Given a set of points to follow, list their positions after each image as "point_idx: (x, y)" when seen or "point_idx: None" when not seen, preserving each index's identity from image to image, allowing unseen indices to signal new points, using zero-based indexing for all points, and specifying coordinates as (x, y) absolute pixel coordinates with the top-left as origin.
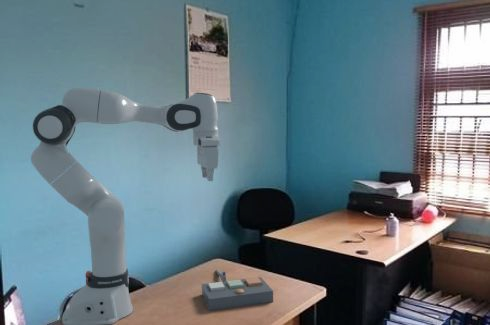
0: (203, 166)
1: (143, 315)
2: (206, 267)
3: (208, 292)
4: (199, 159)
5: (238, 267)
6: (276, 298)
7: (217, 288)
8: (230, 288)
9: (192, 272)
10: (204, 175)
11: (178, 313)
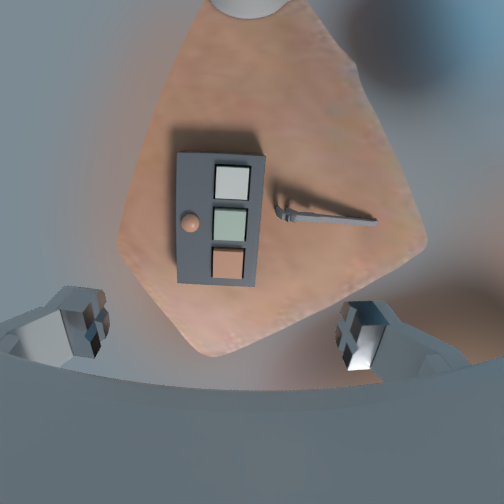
0: (91, 375)
1: (208, 33)
2: (402, 208)
3: (212, 159)
4: (488, 429)
5: (371, 269)
6: None
7: (216, 181)
8: (215, 209)
9: (390, 172)
10: (352, 324)
11: (190, 92)
